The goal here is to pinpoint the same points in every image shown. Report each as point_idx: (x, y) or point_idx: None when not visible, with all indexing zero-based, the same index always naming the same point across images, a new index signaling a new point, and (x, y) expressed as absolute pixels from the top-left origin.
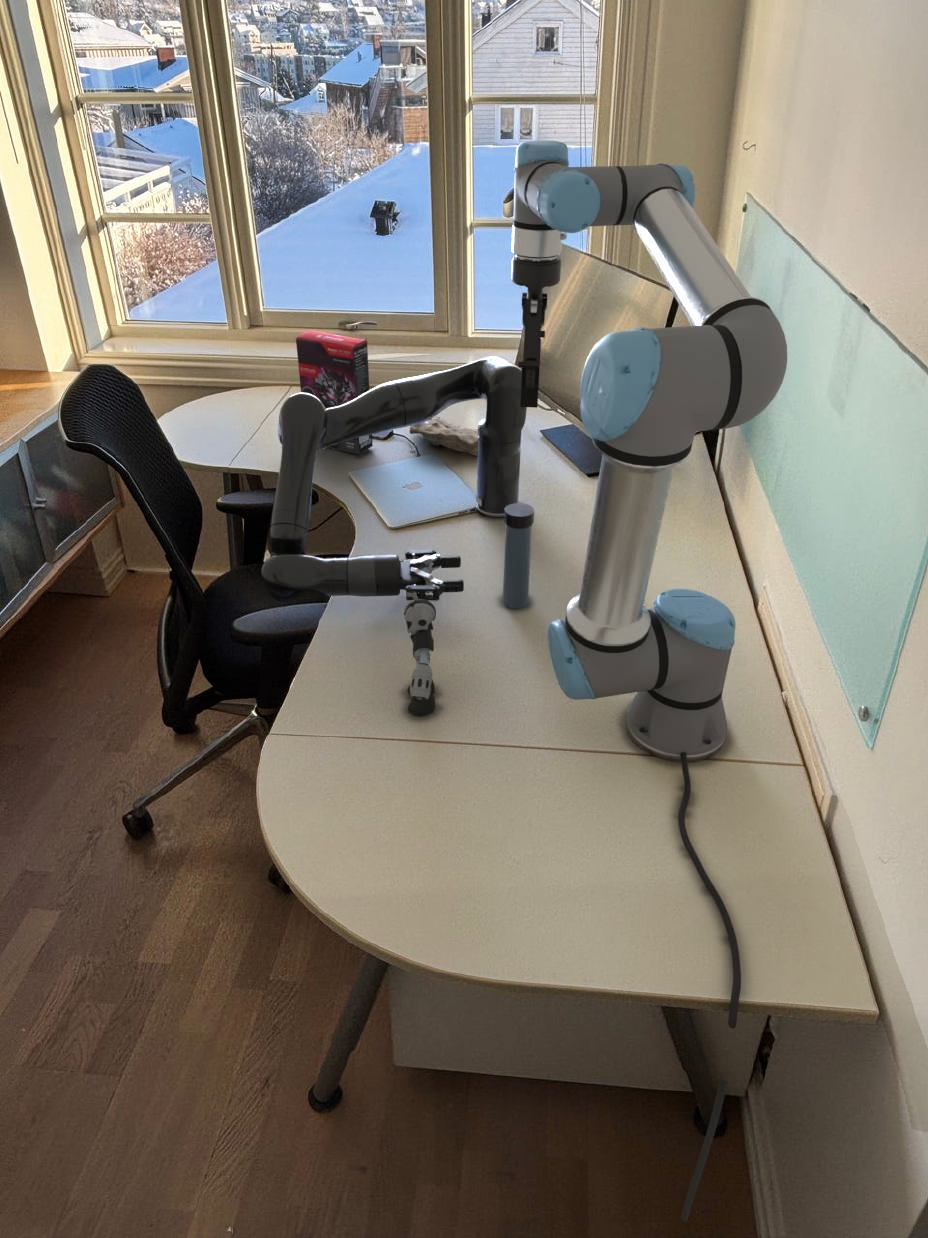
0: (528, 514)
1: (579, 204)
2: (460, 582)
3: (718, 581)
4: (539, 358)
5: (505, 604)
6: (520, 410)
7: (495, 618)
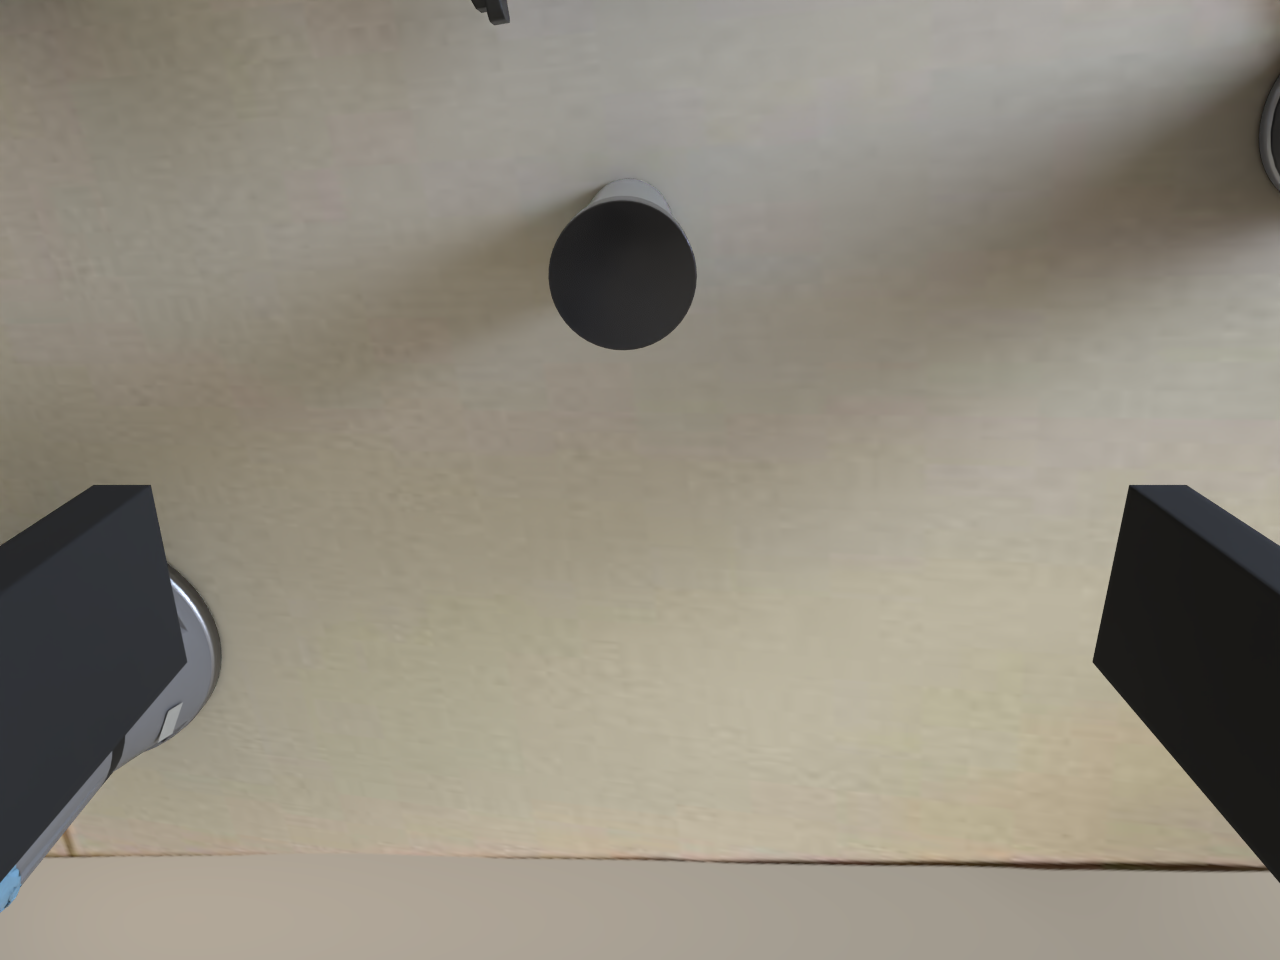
0: (577, 323)
1: None
2: (485, 6)
3: (790, 799)
4: (1240, 829)
5: (599, 190)
6: None
7: (517, 158)
